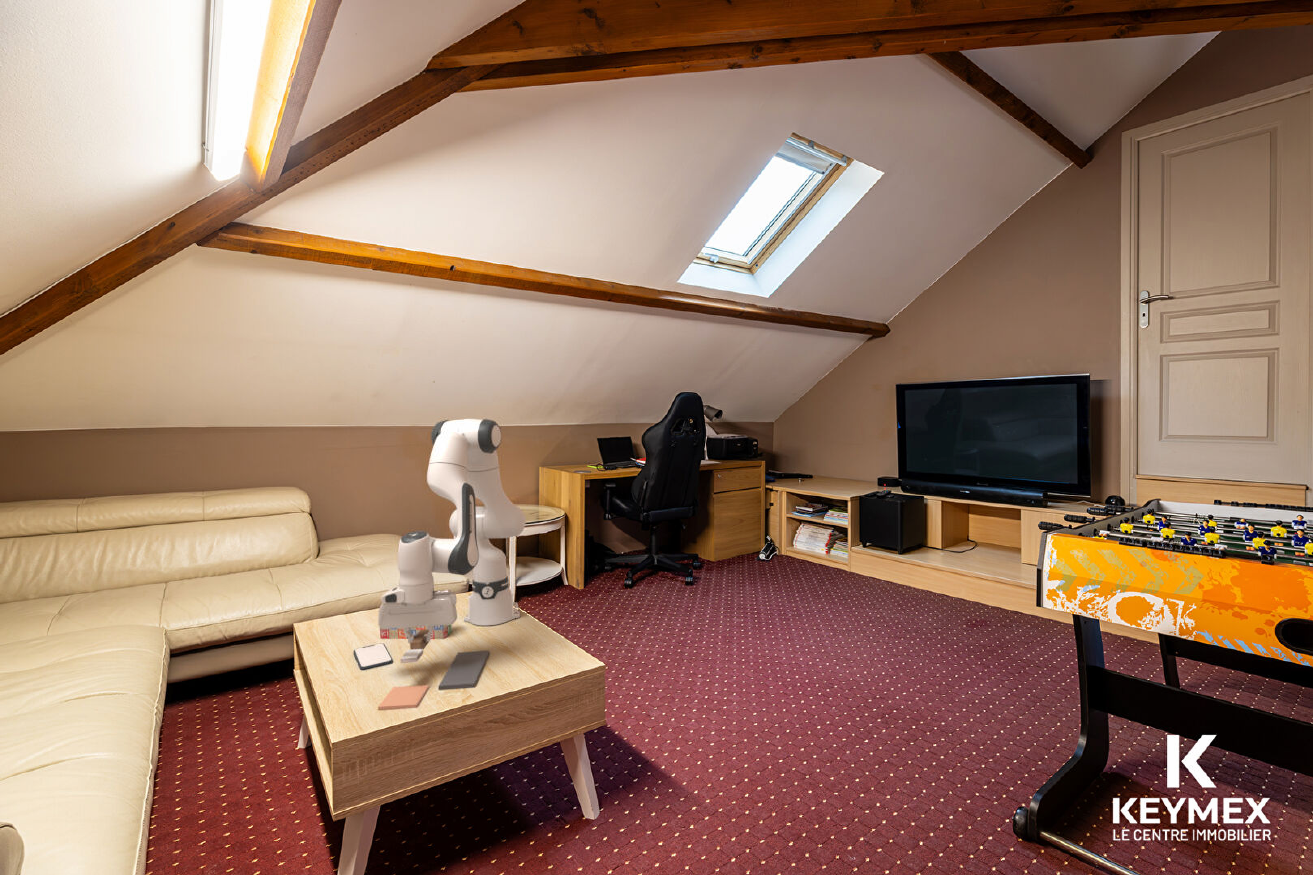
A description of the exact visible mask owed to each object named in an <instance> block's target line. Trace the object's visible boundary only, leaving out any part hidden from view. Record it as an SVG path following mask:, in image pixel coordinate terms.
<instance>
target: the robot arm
mask: <svg viewBox="0 0 1313 875" xmlns="http://www.w3.org/2000/svg"><path fill="white" fill-rule="evenodd" d="M433 426H434V427H433V428H432V430H431V433H430V439H431V440H430V441H431V444H432V446H433V447H432V450H431V452H430V453H431V454H430V457H429V462H428V467H427V472H426V483H427V486H429V489H431V490H430V491H432V493H435V494H436V495H437V496H439V497H441V498H444V499H446V500H448V501H450V502H451V503H453V504H454V505H455V507H456V509H455V510H454V511H452V513H451V515H450V518H449V522H448V526H449V529H450V530H449V531H450V532H451V534H452V535H453V536H454V537H455V538H441V537H440V538H437V537H434V536H433V537H432V536H431V535H430V534H429V532H427V531H424V530H418V531H417V530H415V531H412V532H411V531H410V532H408V533H405V534H404V535H402V536H401V537H400V538H399V541H398V542H399V543H398V550H397V566H398V567H397V569H398V571H399V575H400V576H399V581H398V586H396V587H394V588H390V589H388V590H387V591H386V592H385V593H384V594H382V595H381V597H380V600H381V603H382V604H381V605H380V607H379V609H378V618H377V619H378V622H377V623H378V626H379V629H380V628H381V629H392V628H403V632H404V633H405V634H406V636H407V637H408V639H407V640H408V641H407V642H408V644H410V642H411V641H412V640H413V639H414V638H415V635H412V633H411V632H410V629H411V627H424V626H427V630H429V632H428V634H425V635H424V636H423V639H424V642H429V643H430V642H431V640H432V639H431V635H430V634H431V632H432V631H433V629H434V626H440V625H451V626H453V625H454V623H456V621H457V619H458V612H457V606H456V605H457V602H458V601H457V594H456V593H455V592H454V591H451V590H450V589H448V590H435V580H434V575H433V573H435V574H436V573H437V574H440V573H441V574H451V575H452V574H453V575H458V576H466V575H467V574H469V573H470V572H473V573H472V576H473V577H472V578H473V579H472V584H471V585H472V586H471V587H472V593H471V594H470V595H469V596H468V614H467V615H466V616H464V617H463V621H464V622H466V623H471V624H472V625H475V626H493V625H494V626H495V625H500V624H504V623H508V622H509V621H512V620H515V618H516V619H519V618H521V613H520V609H519V605H518V602H517V601H516V602H515V601H514V598H513V597H514V596H513V593H512V590H511V588H509V586H510V581H509V577H508V573H507V557H506V553H504V552H503V550H502V549H499V548H498V547H495V546H494V545H493V544H492V543H491V542H490V539H507V538H513V537H517V536H520V535H521V534H522V532H523V531H524V530H525V527H526V522H527V521H526V520H527V518H526V516H525V513H524V512H523V510H522V509H521V508H520V507H519V506H517V505H515V504H514V503H513V502H512V501H511V500H510V499H509V497H508V496H507V495H506V492H505V491H504V489H503V486H502V485H503V484H502V479H501V474H500V465H499V458H498V452H497V449H498V448H499V447H500V445H501V442H502V430H501V427H500V424H498V423H497V422H496V421H495V420H491V419H487V418H485V419H479V418H465V419H464V418H463V419H454V420H449V419H446V420H441V421H438V422H437V423H436V424H435V425H433ZM476 499H478V500H479V501H481V503H483V506H481V505H480V506H478V505H476ZM513 606H514V607H515V608H518V610H519V611H518V610H517V609H515V608H513Z"/></svg>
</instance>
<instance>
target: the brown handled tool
mask: <svg viewBox="0 0 1313 875" xmlns="http://www.w3.org/2000/svg"><path fill="white" fill-rule="evenodd" d="M428 632H429V630H420V631H419V633H418V634H417V635H416V636H415V638H414V639H413V640H412V641H411V642H410V643H409V648H410V649H407V650H406V651H405V652H404V654H403V655H402V656H401V658H400V664H410V663H411V664H412V663H418V662H419V660H420V658H421V657H422V656H423V654H424V649H425V648H426V647H427V645H428V644H429V643H430V642H424V639H423V636H424V635H425V634H428ZM430 635H431V634H430Z"/></svg>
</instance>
